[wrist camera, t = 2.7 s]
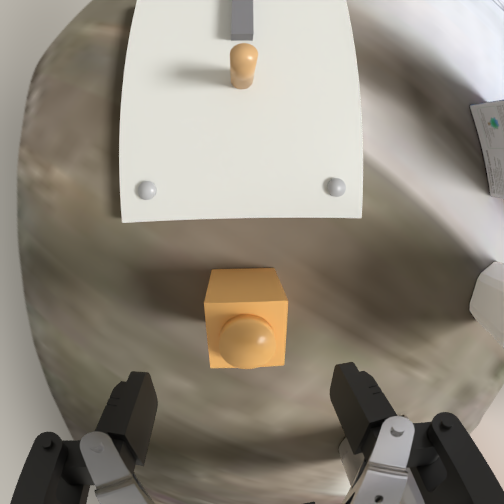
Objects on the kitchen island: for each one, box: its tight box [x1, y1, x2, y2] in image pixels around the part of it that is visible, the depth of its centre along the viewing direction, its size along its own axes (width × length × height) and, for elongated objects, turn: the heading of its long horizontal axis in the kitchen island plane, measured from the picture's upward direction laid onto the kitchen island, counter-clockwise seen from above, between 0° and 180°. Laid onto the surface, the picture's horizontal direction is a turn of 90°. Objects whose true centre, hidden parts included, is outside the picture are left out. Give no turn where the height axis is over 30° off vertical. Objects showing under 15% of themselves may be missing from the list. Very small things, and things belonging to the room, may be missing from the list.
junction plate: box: [119, 0, 363, 223], centre depth 13 cm, size 16×18×6 cm
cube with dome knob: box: [204, 268, 288, 369], centre depth 17 cm, size 4×4×6 cm
